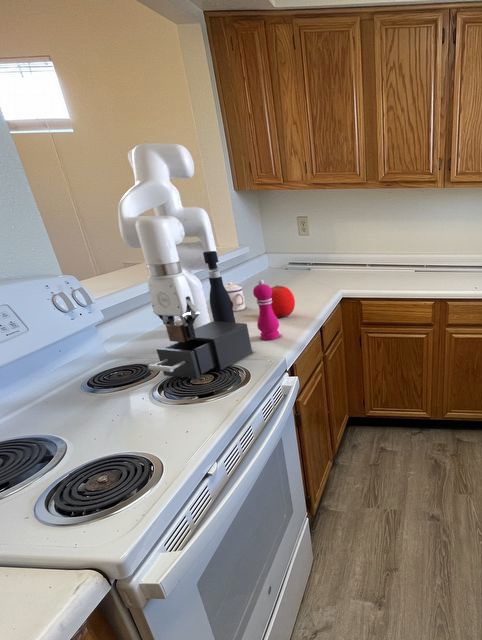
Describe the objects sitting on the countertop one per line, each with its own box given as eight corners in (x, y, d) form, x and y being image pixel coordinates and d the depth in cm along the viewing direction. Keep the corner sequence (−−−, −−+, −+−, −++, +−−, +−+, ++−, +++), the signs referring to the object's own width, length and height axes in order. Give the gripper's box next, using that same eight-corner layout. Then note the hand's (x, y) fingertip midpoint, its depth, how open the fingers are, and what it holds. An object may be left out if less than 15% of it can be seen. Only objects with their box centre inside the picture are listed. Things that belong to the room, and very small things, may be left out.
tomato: (295, 311, 176) (291, 281, 171) (297, 318, 166) (293, 286, 161) (265, 314, 173) (259, 284, 167) (265, 322, 162) (260, 290, 157)
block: (169, 341, 111) (165, 325, 109) (182, 335, 115) (178, 320, 113) (183, 342, 110) (179, 326, 108) (195, 336, 114) (191, 321, 112)
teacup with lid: (219, 310, 181) (213, 283, 176) (237, 305, 188) (232, 279, 183) (237, 313, 175) (231, 286, 171) (254, 308, 182) (249, 281, 177)
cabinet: (221, 370, 119) (213, 338, 115) (185, 366, 122) (177, 335, 119) (252, 352, 132) (246, 323, 128) (219, 349, 135) (213, 321, 131)
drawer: (181, 388, 107) (173, 360, 103) (146, 384, 110) (138, 356, 107) (230, 360, 123) (225, 335, 120) (199, 357, 126) (193, 333, 123)
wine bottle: (220, 348, 136) (198, 254, 124) (218, 342, 142) (197, 251, 129) (240, 344, 139) (221, 252, 127) (238, 339, 144) (219, 249, 132)
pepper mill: (274, 340, 141) (265, 282, 133) (255, 340, 143) (244, 281, 135) (284, 334, 148) (275, 277, 140) (266, 333, 149) (256, 277, 141)
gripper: (126, 272, 104) (147, 340, 112) (180, 273, 99) (198, 345, 107) (151, 266, 111) (169, 332, 118) (202, 268, 106) (218, 336, 113)
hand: (182, 337), depth 113 cm, fingers closed on block, 4 cm apart
